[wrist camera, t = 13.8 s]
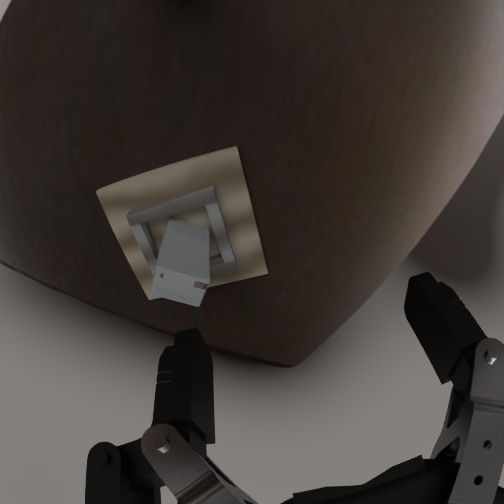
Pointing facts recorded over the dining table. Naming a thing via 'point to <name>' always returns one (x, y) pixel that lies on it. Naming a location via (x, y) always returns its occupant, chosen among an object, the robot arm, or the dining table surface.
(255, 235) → the square frame tray
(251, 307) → the dining table surface
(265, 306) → the dining table surface
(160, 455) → the robot arm
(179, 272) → the skincare box
